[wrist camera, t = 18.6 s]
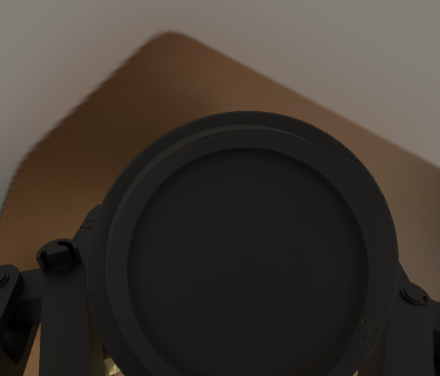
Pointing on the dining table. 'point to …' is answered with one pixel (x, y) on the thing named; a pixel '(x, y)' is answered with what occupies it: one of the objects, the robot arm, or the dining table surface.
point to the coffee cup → (242, 253)
